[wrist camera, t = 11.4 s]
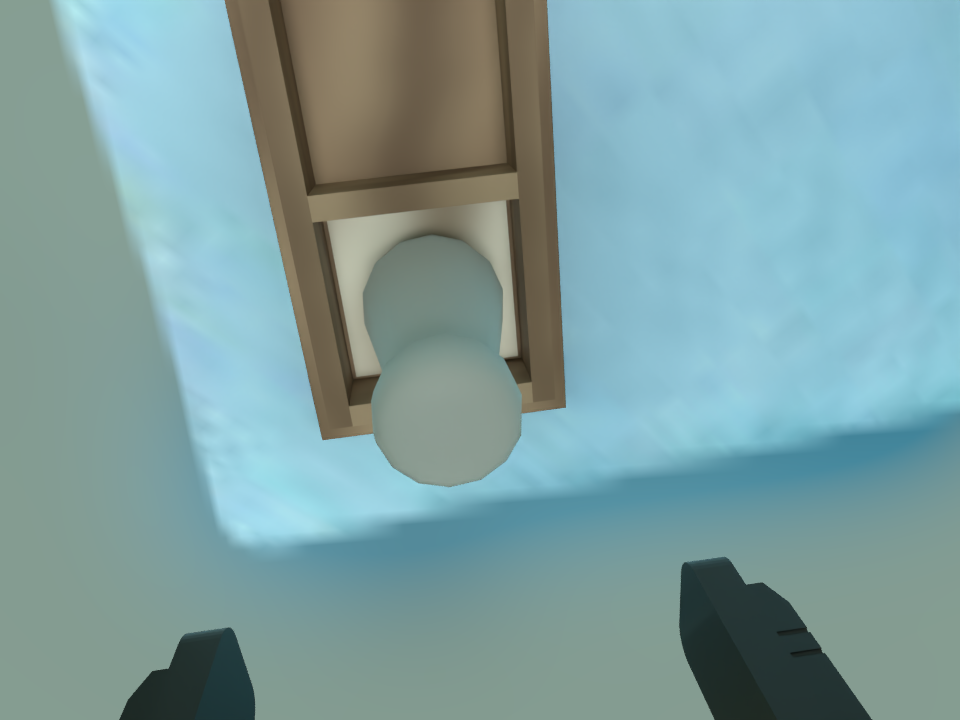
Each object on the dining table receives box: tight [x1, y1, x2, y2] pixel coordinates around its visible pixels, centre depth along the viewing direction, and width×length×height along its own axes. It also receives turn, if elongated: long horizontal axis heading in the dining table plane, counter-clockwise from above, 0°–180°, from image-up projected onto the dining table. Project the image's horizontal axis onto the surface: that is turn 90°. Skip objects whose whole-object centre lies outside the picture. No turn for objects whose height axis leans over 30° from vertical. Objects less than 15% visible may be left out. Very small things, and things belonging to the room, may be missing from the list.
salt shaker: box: [363, 234, 522, 487], centre depth 24 cm, size 6×6×13 cm
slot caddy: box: [225, 0, 566, 440], centre depth 27 cm, size 12×23×4 cm, turn 5°
